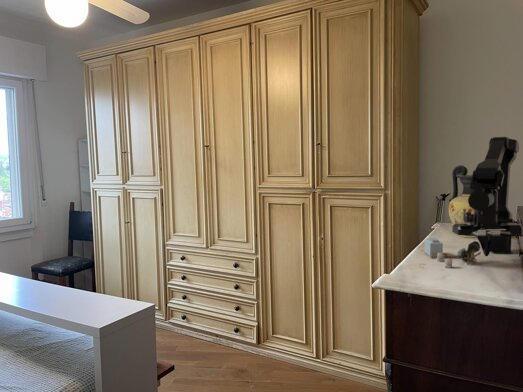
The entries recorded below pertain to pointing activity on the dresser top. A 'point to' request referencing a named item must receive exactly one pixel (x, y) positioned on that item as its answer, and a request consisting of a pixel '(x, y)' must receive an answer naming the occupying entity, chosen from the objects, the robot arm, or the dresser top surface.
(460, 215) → the amphora
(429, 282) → the dresser top surface
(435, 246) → the block
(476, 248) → the eagle figurine
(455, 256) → the pin seat fixture
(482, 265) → the dresser top surface
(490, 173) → the robot arm
